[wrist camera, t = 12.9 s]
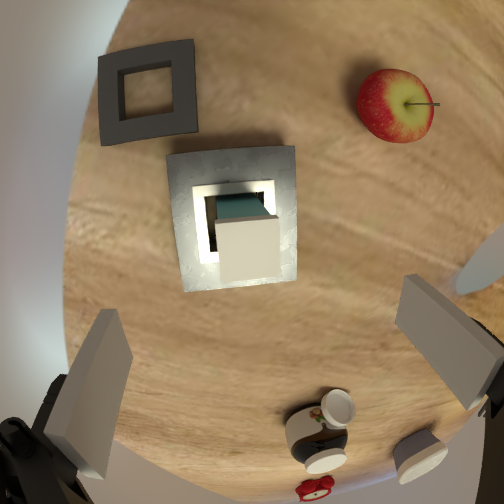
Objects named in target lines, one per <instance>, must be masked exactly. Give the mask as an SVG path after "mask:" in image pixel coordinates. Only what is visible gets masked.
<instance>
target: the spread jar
mask: <svg viewBox="0 0 504 504" xmlns="http://www.w3.org/2000/svg"><path fill="white" fill-rule="evenodd" d="M355 415H356V408H355V404H354V401H353V400H352V398H351V397H350V396H349V394H347V393H346V392H345V391H343V390H340V389H334V390H332V391H330V392H328V393H327V394H325V395H324V397H323V398H322V401H321V404H320V403H315V404H309V405H306V406H303V407H301V408H299V409H297V410H296V411H295V412H293V413H292V414H291V416H290V417H289V418H288V420H287V423H286V427H285V433H286V439H287V443H288V446H289V450H290V452H291V455H292V456H293V458H294V459H296V460H297V461H298V462H300V463H303V464H305V468H306V471H307V472H308V473H310V474H319V473H324V472H328V471H330V470H333V469H335V468H337V467H339V466H340V465H342V464H343V463H344V462H345V461H346V459H347V456H346V454H345V451H344V448H345V446H346V443H347V439H348V433H347V429H346V426H345V425H347V424H349V423H351V422H352V421H353V419H354V418H355Z"/></svg>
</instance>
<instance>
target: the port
mask: <svg viewBox="0 0 504 504" xmlns="http://www.w3.org/2000/svg"><path fill="white" fill-rule="evenodd" d="M166 161H167V172H168V182H169V191H170V199H171V208H172V215H173V223H174V230H175V238H176V244H177V251H178V258H179V264H180V270H181V276H182V282H183V288H184V292H191V291H201V290H212V289H222V288H231V287H241V286H250V285H259V284H268V283H277V282H285V281H293V280H297V206H296V166H295V146H290V145H279V146H255V147H238V148H224V149H213V150H202V151H193V152H184V153H175V154H169V155H166ZM247 192H258V199H259V200H260V202H261V203H262V204H263V205H264V207H265V208H266V209H267V210H268V211H269V213H270V214H271V215H273V214H276V215H277V216H278V217H279V219H280V262H281V276H280V277H271V278H262V279H253V280H244V281H234V282H224V283H221V278H220V269H219V260H218V250H217V240H216V238H215V239H210V234H209V225H208V215H207V204H206V196H212V195H223V194H234V193H247Z"/></svg>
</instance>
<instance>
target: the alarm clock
mask: <svg viewBox="0 0 504 504" xmlns="http://www.w3.org/2000/svg"><path fill="white" fill-rule="evenodd" d="M334 483H335V482H334V479H333V478H332V477H330V476H325V477H323V478H321V479H318V480H314V481H312V480H307V481H304V482H303V483H302V484H301V486H299V487H298V488H297V489H296V493H297V494H298V495H299V497H300V500H301V501H313V500H317V499H320V498H323V497H325V496H327V495H328V494H330V493H331V487H332V486H333V485H334ZM301 501H300V502H301Z"/></svg>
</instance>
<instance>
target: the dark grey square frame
mask: <svg viewBox="0 0 504 504" xmlns="http://www.w3.org/2000/svg"><path fill="white" fill-rule="evenodd" d="M171 66H172V93H173V112H171V113H163V114H157V115H150V116H144V117H139V118H133V119H128V120H125V100H124V75H126V74H131V73H136V72H141V71H146V70H152V69H158V68H164V67H171ZM98 111H99V129H100V142H101V146H110V145H116V144H121V143H126V142H132V141H137V140H143V139H150V138H156V137H163V136H171V135H178V134H187V133H196V132H199V130H198V114H197V96H196V76H195V49H194V41H193V39H186V40H178V41H171V42H164V43H158V44H152V45H146V46H141V47H136V48H131V49H127V50H122V51H118V52H114V53H110V54H106V55H103V56H99V57H98Z"/></svg>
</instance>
